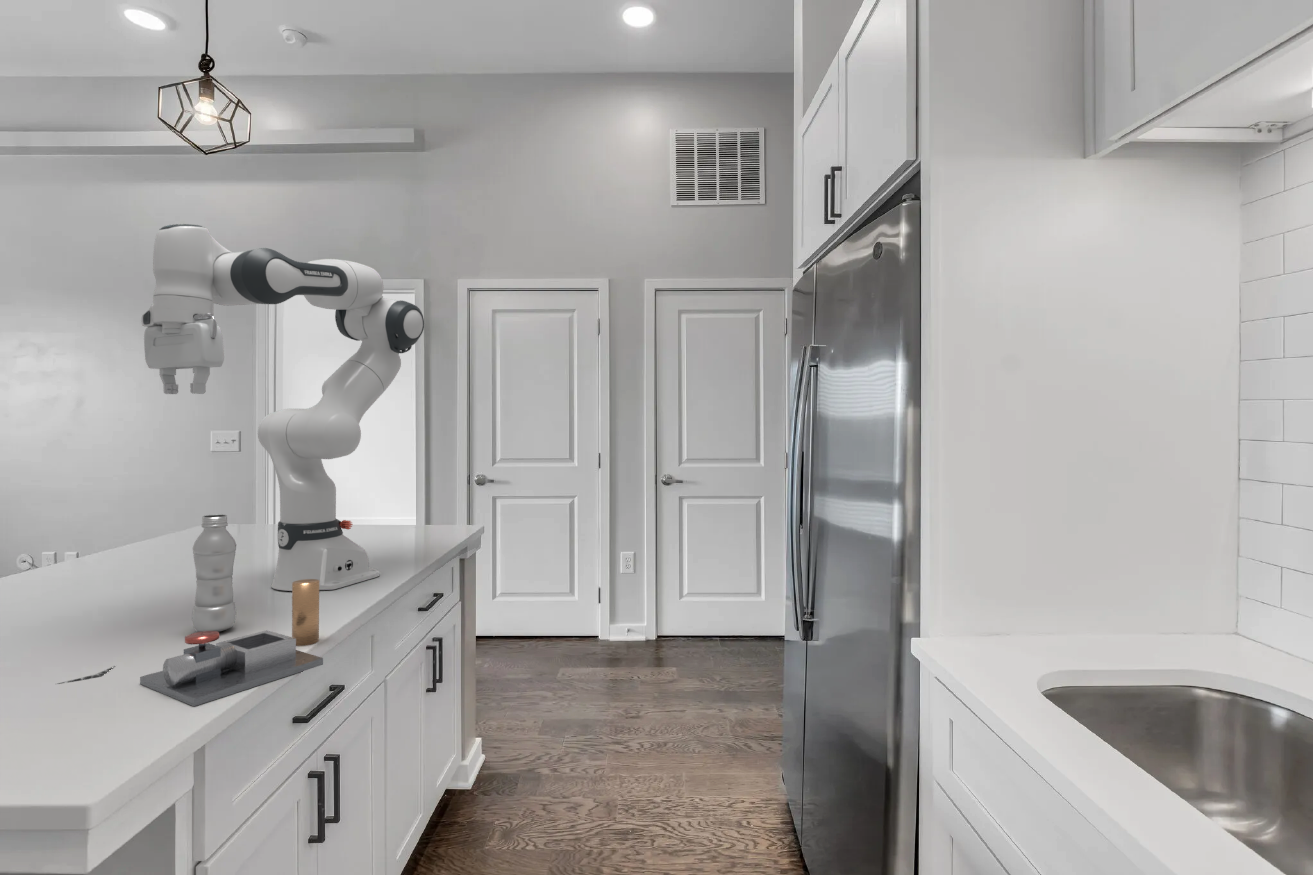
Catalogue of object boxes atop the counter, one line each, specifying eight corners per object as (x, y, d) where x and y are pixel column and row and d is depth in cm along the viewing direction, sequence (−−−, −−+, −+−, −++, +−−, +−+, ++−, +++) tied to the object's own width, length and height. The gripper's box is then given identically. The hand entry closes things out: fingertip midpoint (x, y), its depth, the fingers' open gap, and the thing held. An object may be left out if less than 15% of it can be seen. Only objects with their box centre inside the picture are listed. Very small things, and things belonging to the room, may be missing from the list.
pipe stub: (309, 636, 116) (309, 578, 116) (324, 640, 114) (324, 581, 114) (286, 642, 113) (287, 582, 113) (301, 647, 111) (301, 585, 111)
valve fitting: (268, 647, 110) (268, 605, 110) (323, 664, 103) (323, 619, 103) (140, 683, 95) (140, 635, 95) (193, 706, 88) (193, 653, 88)
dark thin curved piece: (50, 690, 91) (25, 687, 93) (50, 696, 91) (25, 693, 93) (147, 659, 103) (123, 657, 105) (147, 664, 103) (123, 662, 105)
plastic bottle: (230, 623, 123) (231, 512, 123) (241, 632, 118) (241, 516, 118) (188, 630, 118) (188, 515, 118) (196, 639, 114) (196, 519, 113)
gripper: (234, 314, 119) (234, 394, 119) (175, 321, 129) (175, 394, 130) (194, 309, 114) (195, 392, 114) (136, 317, 124) (136, 393, 124)
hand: (184, 394), depth 122 cm, fingers open, 8 cm apart
